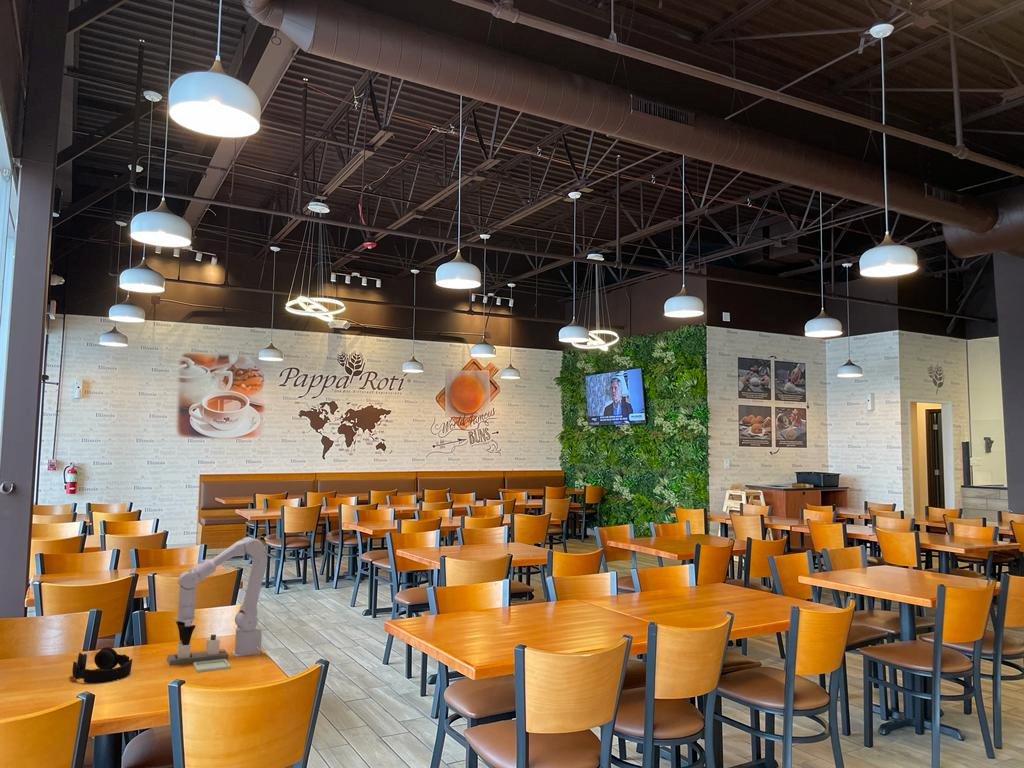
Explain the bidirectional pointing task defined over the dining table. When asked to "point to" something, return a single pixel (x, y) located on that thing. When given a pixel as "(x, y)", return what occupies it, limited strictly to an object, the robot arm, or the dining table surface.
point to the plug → (183, 650)
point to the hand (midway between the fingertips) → (184, 642)
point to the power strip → (202, 654)
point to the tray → (211, 665)
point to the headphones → (102, 666)
